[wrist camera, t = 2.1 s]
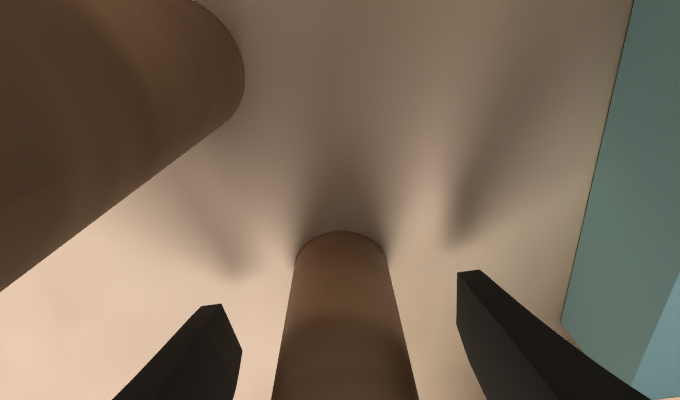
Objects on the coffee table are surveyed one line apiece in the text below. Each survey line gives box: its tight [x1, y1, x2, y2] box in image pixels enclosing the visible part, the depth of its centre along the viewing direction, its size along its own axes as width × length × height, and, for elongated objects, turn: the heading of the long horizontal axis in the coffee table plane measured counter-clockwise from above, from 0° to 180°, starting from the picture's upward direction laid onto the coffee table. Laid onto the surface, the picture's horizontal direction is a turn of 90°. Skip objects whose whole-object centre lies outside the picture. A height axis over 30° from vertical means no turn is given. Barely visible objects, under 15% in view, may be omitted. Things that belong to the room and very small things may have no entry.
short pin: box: [271, 231, 419, 400], centre depth 8 cm, size 3×3×7 cm
